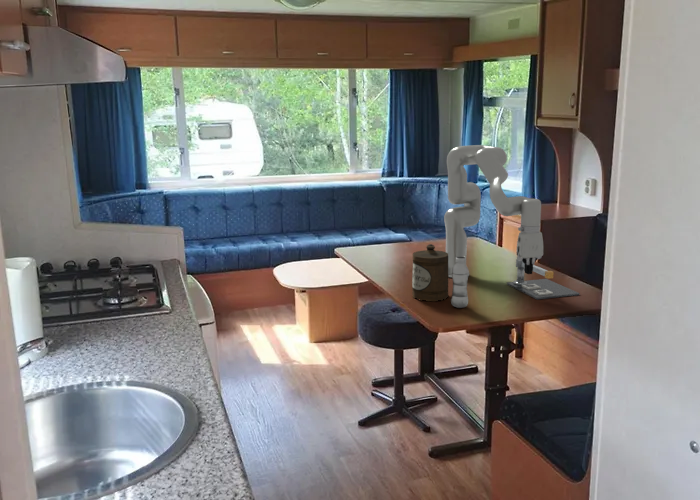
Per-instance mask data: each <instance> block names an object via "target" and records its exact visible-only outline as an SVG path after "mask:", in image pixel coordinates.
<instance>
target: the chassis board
mask: <svg viewBox="0 0 700 500" xmlns="http://www.w3.org/2000/svg"><path fill="white" fill-rule="evenodd" d="M526 281H527V285H528V284H535V285H538V286H540V287H541V288H538V289H526V288H524V287H522V285H516V284H514V283H513V281H510V282H509V281H508V282H506V285H507V286H509V287H511V288H513V289H515V290H517V291H519V292H521V293H523V294H525V295H527V296H530V297H531V298H532V299H535V300H546V299H554V298H555V299H556V298H565V297H574V296H579V295H581V293H580V292H578V291H576V290H573V289H571V288H569V287H566V286H564V285H561V284H559V283H557V282H555V281H553V280H551V279H547V278H540V279H529V280H526ZM545 289H546V290H548V291H551V292H553V294H548V295H538V294H536V293H534V292H533V291H535V290H545Z"/></svg>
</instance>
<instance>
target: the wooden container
mask: <svg viewBox="0 0 700 500" xmlns="http://www.w3.org/2000/svg"><path fill="white" fill-rule="evenodd" d="M425 248H426V250H425V249H424V250H417V251H415V252H413V253H412V278H411V280H412V281H411V284H412V285H411V287H412V289H411V290H412V295H413V296H412V298H414V299H415V298H417V299H416V300H418V299H420V300H419V301H422V300H426V301H425V302H439V301H438V300H441V301H443V299H444V300H447V299H448V298H449V277H448V253H446V251H442V250H435V249H436V246H435V245H434V244H433V243H429V244H427V245H426V247H425ZM447 297H448V298H447ZM446 298H447V299H446Z"/></svg>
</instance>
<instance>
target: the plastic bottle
mask: <svg viewBox="0 0 700 500" xmlns="http://www.w3.org/2000/svg"><path fill="white" fill-rule="evenodd" d="M465 260H466V261H465ZM455 262H456V264H455V265H454V266H453V268H452V291H451V292H452V294H451V299H450V302H451V305H452V307H455V308H458V309H462V308H467V306H468V304H469V297H468V278H469V276H468V273H469V274H470V271H469V267H468V266H467V264H466V265H465V262H466V263H467V257H466V258H465V257H462V256H458V257H456V261H455Z"/></svg>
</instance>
